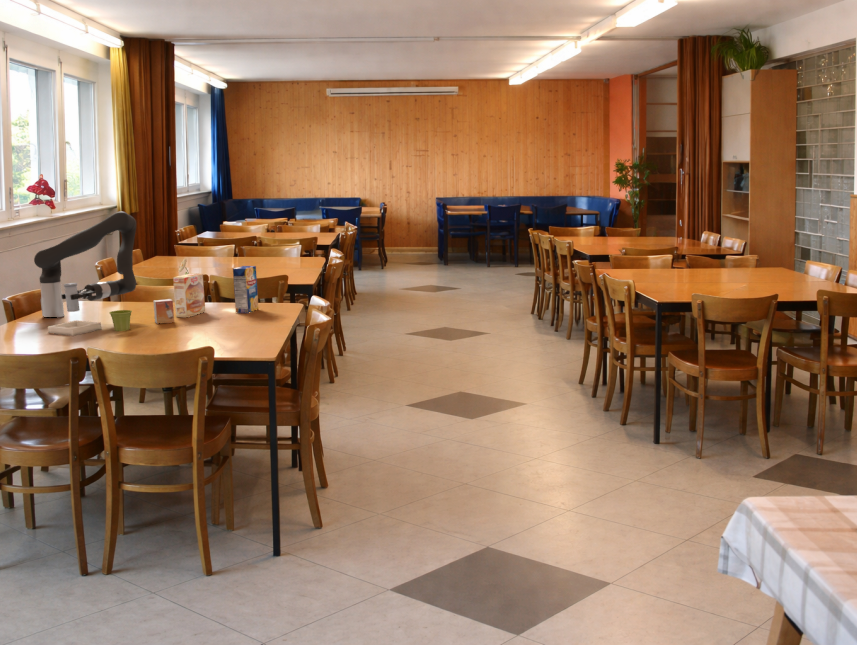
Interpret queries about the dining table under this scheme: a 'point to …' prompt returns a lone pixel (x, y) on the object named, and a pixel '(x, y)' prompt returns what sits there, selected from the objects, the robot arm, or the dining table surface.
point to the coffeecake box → (189, 295)
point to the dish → (74, 327)
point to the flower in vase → (183, 266)
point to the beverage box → (245, 289)
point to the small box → (163, 311)
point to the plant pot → (121, 319)
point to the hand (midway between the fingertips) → (66, 297)
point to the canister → (70, 290)
